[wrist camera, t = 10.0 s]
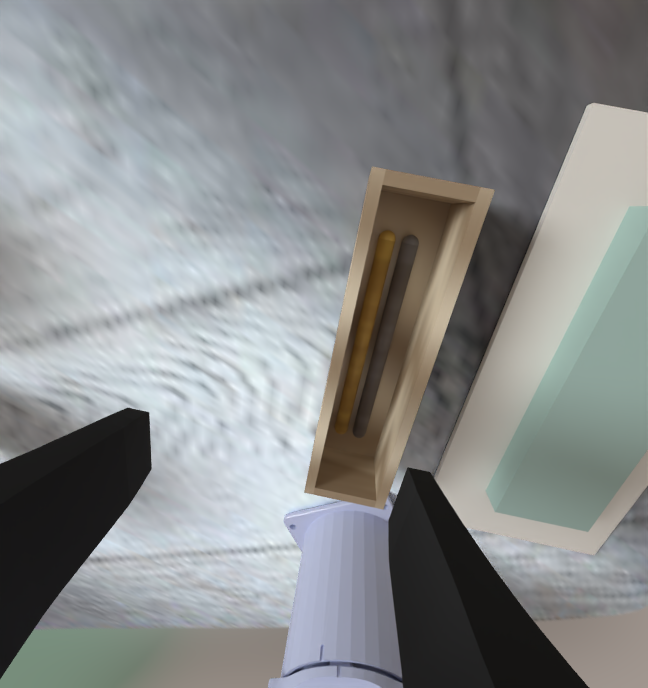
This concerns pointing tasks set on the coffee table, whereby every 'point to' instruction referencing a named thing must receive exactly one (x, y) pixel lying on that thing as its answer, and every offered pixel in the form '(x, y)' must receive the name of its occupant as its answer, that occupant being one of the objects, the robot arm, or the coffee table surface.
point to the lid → (587, 399)
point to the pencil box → (391, 328)
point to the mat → (549, 325)
